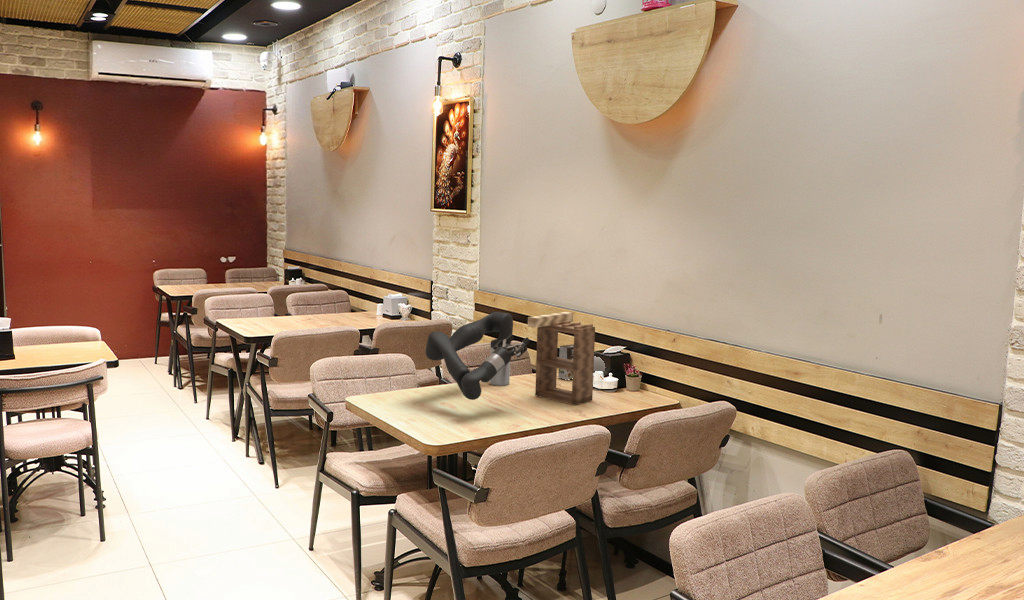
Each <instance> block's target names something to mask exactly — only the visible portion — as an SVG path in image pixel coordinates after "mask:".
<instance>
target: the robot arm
mask: <svg viewBox="0 0 1024 600" xmlns="http://www.w3.org/2000/svg"><path fill="white" fill-rule="evenodd" d="M513 331H514V319H513V316H512V315H511V313H508V312H502V311H494V312H491V313H489V314H487V315H485V316H484V317H482V318H480V319H477V320H475V321H471V322H469V323H466V324H464V325H462V326H459V327H458V328H457V329H456V330H455V331H454V332H453V333H452V335H450V337H449V336H448V334H446V333H445V332H443V331H438V330H435V331H432V332H430V333H428V334H429V335H428V336H427V341H426V344H425V345H426V347H425V356H426V358H427V359H428V360H430V361H441V360H444V365H445V367H446V370H447V372H448V373H449V375H450V376H451V378H453V380H454V381H455V382H456V384H457V385H458V388H459V389H460V391H461V394H462V395H463V396H464V397H465V398H466V399H468V400H471V401H472V400H473V401H474V400H478V399H479V397H481V395H482V386H481V382H482V383H485V384H486V383H489V384H490V385H492V386H503V387H504V386H509V384H510V376H511V374H510V372H511V371H510V370H511V359H512V357H513V356H516V358H520V357H521V356H522V355H523V354H524V353H526V351H527V350H528V347H527V345H528V344H529V343H530V338H529V337H525V338H524V339H523V340H522V341H521V342H520V343H515V344H514V343H513V344H512V341H513V340H514V339H515V337H514V335H513ZM492 332H493V333H498V337H497V338H495V339H492V340H491V341H490V343H489V344H490V351H489V353H490V354H489V355H488V357H486V358H485V359H484V361H483V362H482V363H481V364H480V365H479V366H478V367H476V368H474V369H473V370H471V371H470V369H469V368H468V366H467V365H466V364H465V363H464V362H463V361H462V359H461V357H460V356H459V355H458V351H460V350H463V349H464V348H467V347H469V346H472V345H474V344H477V343H479V342H480V341H481V340H482V339H483V337H484V335H485V334H489V333H492ZM516 348H517V349H516Z"/></svg>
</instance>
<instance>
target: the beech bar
mask: <svg viewBox="0 0 1024 600" xmlns="http://www.w3.org/2000/svg"><path fill="white" fill-rule="evenodd" d="M563 321H571V323H574V312H571V311H570V312H569V311H563V312H561V311H560V312H555V313H549V314H542V315H534V316H528V317H527V327H528V328H534V329H535V328H536V329H537V327H543V326H549V325H551V324H552V323H557V322H563Z"/></svg>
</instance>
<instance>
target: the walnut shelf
mask: <svg viewBox="0 0 1024 600" xmlns="http://www.w3.org/2000/svg"><path fill="white" fill-rule="evenodd" d="M536 329H537V330H536V331H537V332H536V360H535V361H536V363H535V364H536V365H535V391H534V392H535V394H534V395H537V396H536V397H539V396H541V397H540V398H543V397H544V399H547V398H548V400H553V401H556V402H560V403H565V404H569V405H573V406H577V405H578V406H579V405H581V404H585V403H587V402H591V401H593V394H594V388H593V384H594V372H595V371H594V354H595V344H596V343H595V341H596V326H594V324H593V323H590V324H581V322H580V321H577V322H571V321H563V322H557V323H552V324H551V325H549V326H543V327H537V328H536ZM559 332H560V333H566V334H572V335H573V345H574V353H573V360H569V359H564V358H559V356H558V349H559V348H558V347H559V346H558V343H559V342H558V341H559ZM559 368H560V369H564V370H569V371H573V380H571V381H572V383H571V384H572V387H571V390H569V389H564V388H560V387H557V378H558V374H557V372H558V370H557V369H559Z"/></svg>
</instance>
